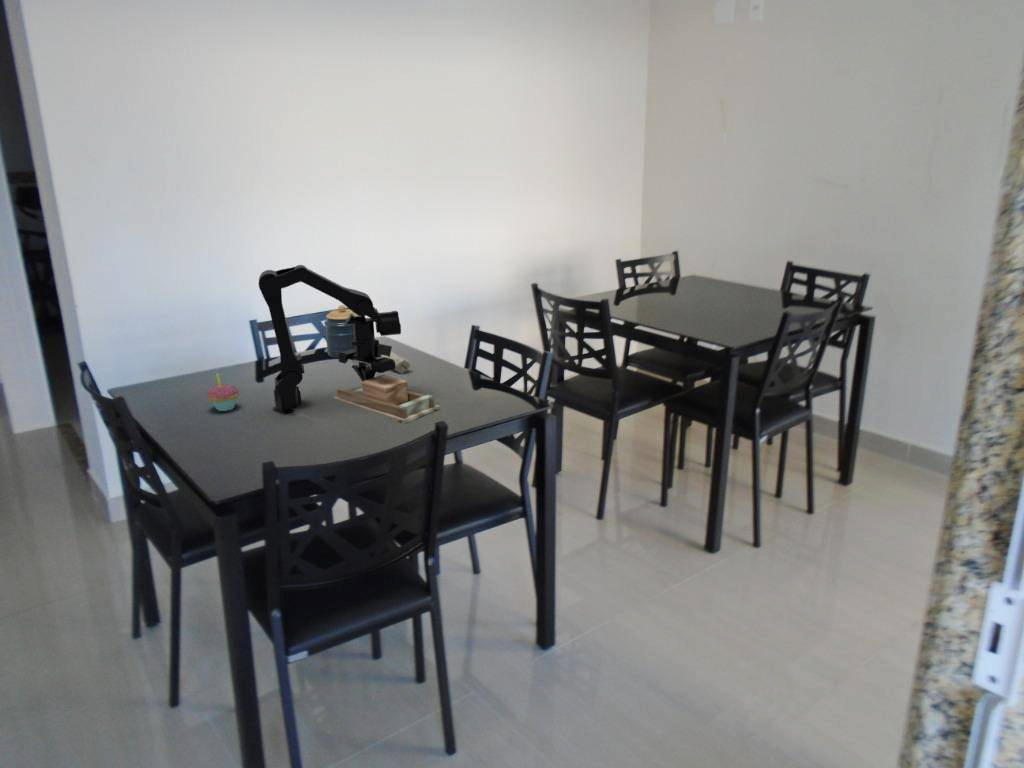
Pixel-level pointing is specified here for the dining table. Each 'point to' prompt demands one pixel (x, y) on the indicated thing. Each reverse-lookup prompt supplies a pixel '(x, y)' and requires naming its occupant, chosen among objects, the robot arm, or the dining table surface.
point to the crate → (386, 389)
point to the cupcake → (223, 396)
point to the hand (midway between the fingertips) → (368, 388)
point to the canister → (339, 331)
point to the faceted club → (397, 360)
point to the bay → (403, 411)
